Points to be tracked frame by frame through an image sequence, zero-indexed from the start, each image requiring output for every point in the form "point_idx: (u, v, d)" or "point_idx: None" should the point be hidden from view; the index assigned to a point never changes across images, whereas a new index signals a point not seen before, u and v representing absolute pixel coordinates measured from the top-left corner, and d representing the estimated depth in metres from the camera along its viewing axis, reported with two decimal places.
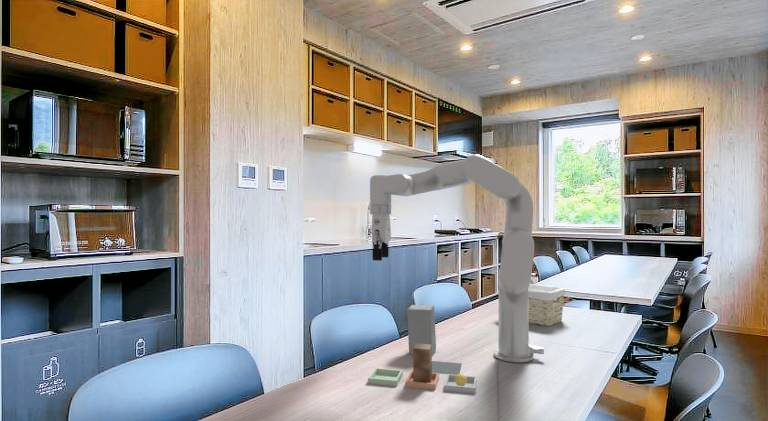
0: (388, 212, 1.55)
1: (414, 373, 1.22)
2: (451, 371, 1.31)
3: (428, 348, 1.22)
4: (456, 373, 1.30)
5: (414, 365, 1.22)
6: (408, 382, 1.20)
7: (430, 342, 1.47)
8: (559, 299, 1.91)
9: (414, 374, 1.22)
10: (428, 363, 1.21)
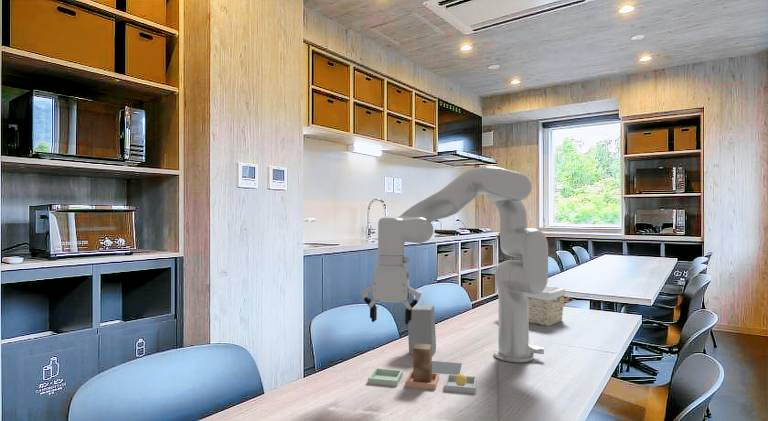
0: None
1: (414, 373, 1.22)
2: (451, 371, 1.31)
3: (428, 348, 1.22)
4: (456, 373, 1.30)
5: (414, 365, 1.22)
6: (408, 382, 1.20)
7: (430, 342, 1.47)
8: (559, 299, 1.91)
9: (414, 374, 1.22)
10: (428, 363, 1.21)
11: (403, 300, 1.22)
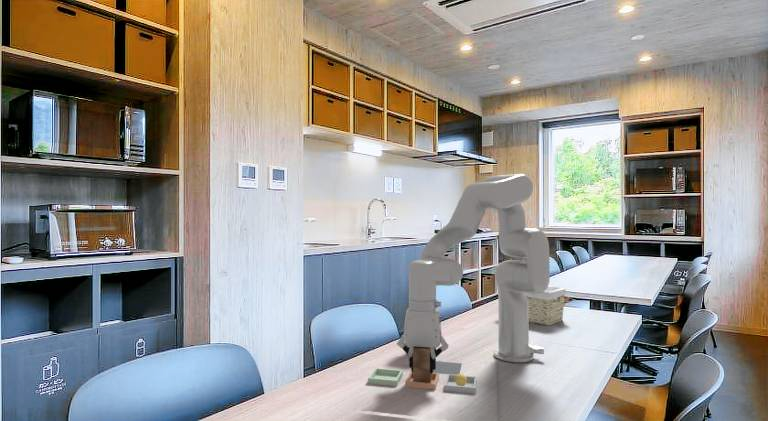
0: None
1: (414, 373, 1.22)
2: (451, 371, 1.31)
3: (428, 348, 1.22)
4: (456, 373, 1.30)
5: (414, 365, 1.22)
6: (408, 382, 1.20)
7: None
8: (560, 299, 1.92)
9: (414, 374, 1.22)
10: (428, 363, 1.21)
11: (435, 346, 1.20)
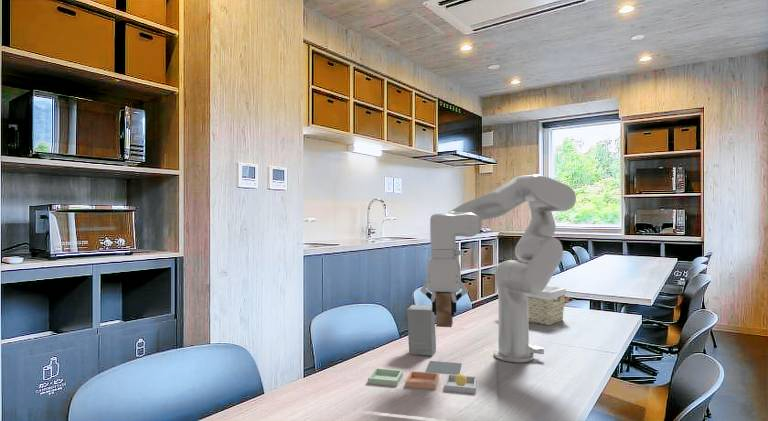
0: None
1: (437, 316, 1.33)
2: (451, 371, 1.31)
3: (449, 293, 1.33)
4: (456, 373, 1.30)
5: (437, 308, 1.33)
6: (408, 382, 1.20)
7: (430, 342, 1.47)
8: (560, 298, 1.92)
9: (437, 317, 1.33)
10: (450, 306, 1.32)
11: (456, 290, 1.32)
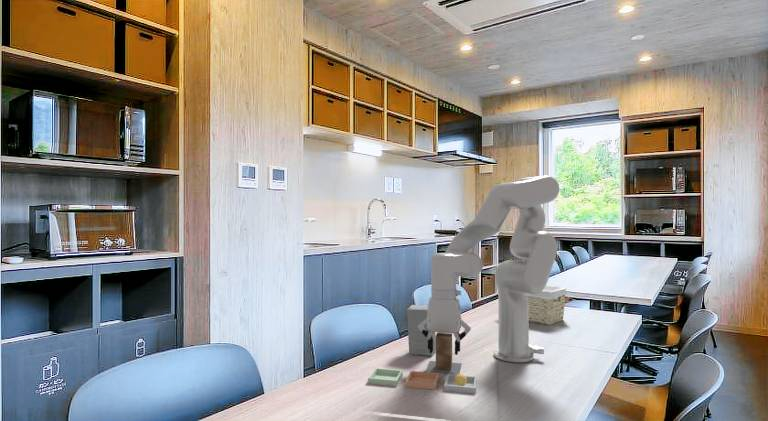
0: None
1: (436, 359, 1.33)
2: (451, 371, 1.31)
3: (449, 336, 1.33)
4: (456, 373, 1.30)
5: (436, 351, 1.33)
6: (408, 382, 1.20)
7: None
8: (560, 298, 1.92)
9: (436, 360, 1.33)
10: (449, 349, 1.32)
11: (456, 331, 1.32)
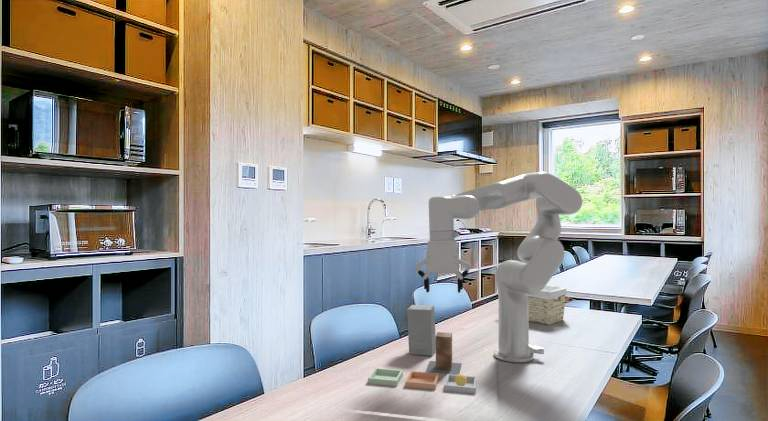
0: None
1: (436, 359, 1.33)
2: (451, 371, 1.31)
3: (449, 336, 1.33)
4: (456, 373, 1.30)
5: (436, 351, 1.33)
6: (408, 382, 1.20)
7: (430, 342, 1.47)
8: (560, 298, 1.93)
9: (436, 360, 1.33)
10: (449, 349, 1.32)
11: (455, 271, 1.35)
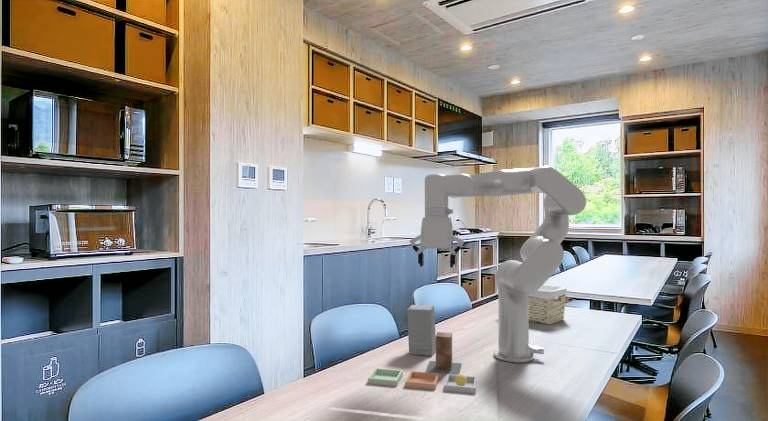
0: None
1: (436, 359, 1.33)
2: (451, 371, 1.31)
3: (449, 336, 1.33)
4: (456, 373, 1.30)
5: (436, 351, 1.33)
6: (408, 382, 1.20)
7: (430, 342, 1.47)
8: (561, 298, 1.93)
9: (436, 360, 1.33)
10: (449, 349, 1.32)
11: (448, 246, 1.39)
